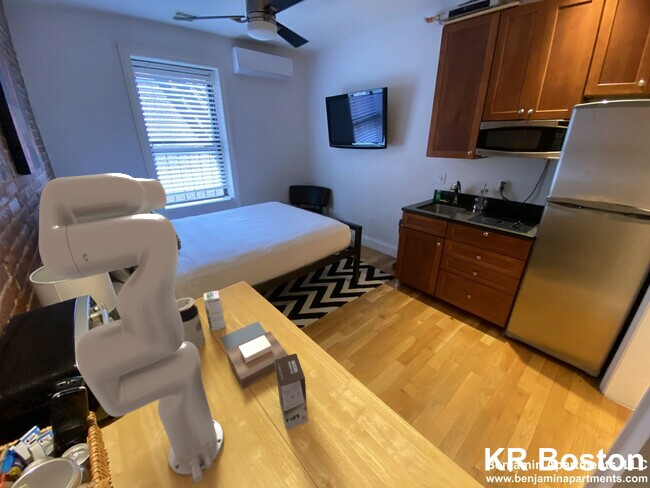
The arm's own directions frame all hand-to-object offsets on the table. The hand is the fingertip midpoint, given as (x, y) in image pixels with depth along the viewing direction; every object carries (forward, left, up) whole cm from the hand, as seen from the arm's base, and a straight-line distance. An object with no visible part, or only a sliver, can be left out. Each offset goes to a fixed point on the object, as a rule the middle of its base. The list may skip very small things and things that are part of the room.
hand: (152, 271), depth 89 cm
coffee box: (-49, -23, -30) cm, 62 cm away
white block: (-26, -22, -26) cm, 43 cm away
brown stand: (-27, -22, -30) cm, 46 cm away
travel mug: (-5, -6, -30) cm, 31 cm away
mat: (-14, -22, -30) cm, 40 cm away
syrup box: (0, -16, -30) cm, 34 cm away
